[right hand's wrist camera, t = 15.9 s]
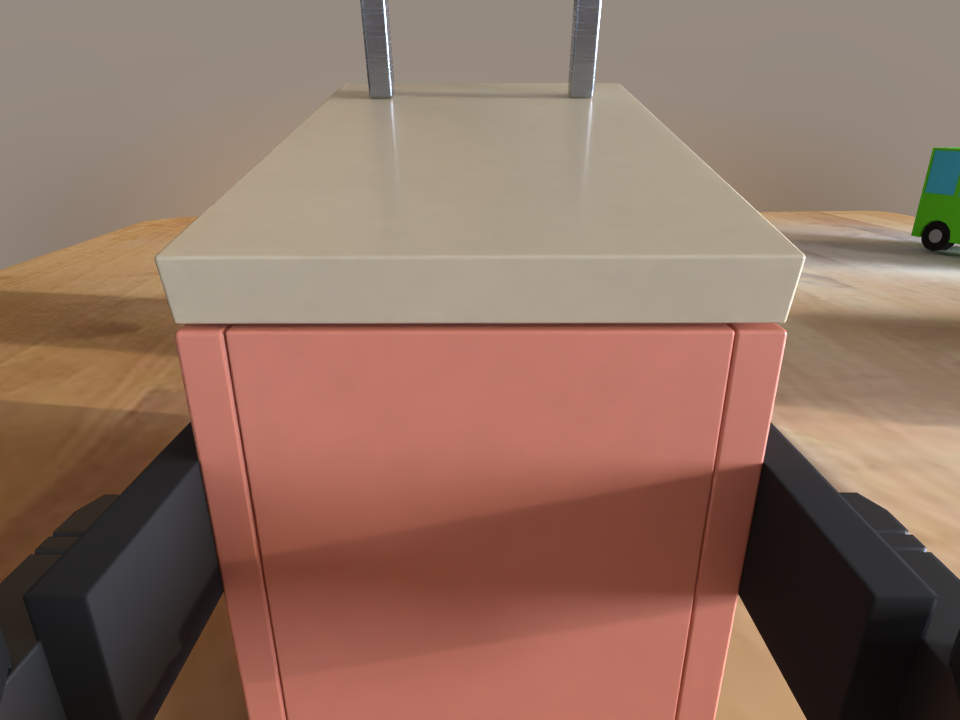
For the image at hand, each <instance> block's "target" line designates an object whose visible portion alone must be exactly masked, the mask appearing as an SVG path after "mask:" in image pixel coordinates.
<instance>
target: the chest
mask: <svg viewBox="0 0 960 720" xmlns="http://www.w3.org/2000/svg"><path fill="white" fill-rule="evenodd" d="M786 337H787V332H786V330H784V329H783V328H781V327H780V326H779V325H777V324H776V323H376V324H186V325H184V326H183V327H181V328H180V329H179V330H177V331H176V332H175V341H176V347H177V352H178V357H179V362H180V367H181V373H182V378H183V383H184V388H185V393H186V398H187V404H188V409H189V414H190V419H191V424H192V429H193V435H194V440H195V445H196V450H197V455H198V461H199V465H200V471H201V476H202V481H203V486H204V492H205V497H206V502H207V507H208V512H209V517H210V523H211V528H212V533H213V538H214V543H215V548H216V554H217V559H218V564H219V569H220V574H221V580H222V585H223V590H224V595H225V600H226V605H227V611H228V616H229V621H230V626H231V631H232V636H233V642H234V647H235V652H236V657H237V662H238V668H239V673H240V678H241V683H242V688H243V693H244V699H245V704H246V709H247V714H248V719H249V720H715V715H716V710H717V705H718V699H719V694H720V689H721V683H722V678H723V673H724V667H725V662H726V657H727V651H728V646H729V641H730V635H731V630H732V625H733V619H734V614H735V609H736V603H737V598H738V593H739V587H740V582H741V577H742V571H743V566H744V561H745V555H746V550H747V545H748V539H749V534H750V529H751V523H752V518H753V513H754V508H755V502H756V497H757V492H758V486H759V481H760V476H761V470H762V465H763V460H764V454H765V449H766V444H767V438H768V433H769V428H770V422H771V417H772V412H773V406H774V401H775V396H776V390H777V385H778V380H779V374H780V369H781V364H782V358H783V353H784V348H785V342H786Z"/></svg>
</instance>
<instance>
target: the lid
mask: <svg viewBox="0 0 960 720" xmlns="http://www.w3.org/2000/svg"><path fill="white" fill-rule="evenodd" d="M360 3H361V14H362V24H363V34H364V45H365V56H366V66H367V76H368V84H344V85H343V86H342V87H341V88H340V89H339V90H337V91H336V92H335V93H334V94H333V95H332V96H331V97H330V98H329V99H327V100H326V101H325V102H324V103H323V104H322V105H321V106H320V107H319V108H318V109H316V110H315V111H314V112H313V113H312V114H311V115H310V116H309V117H308V118H307V119H306V120H305V121H303V122H302V123H301V124H300V125H299V126H298V127H297V128H296V129H295V130H293V131H292V132H291V133H290V134H289V135H288V136H287V137H286V138H285V139H284V140H282V141H281V142H280V143H279V144H278V145H277V146H276V147H275V148H274V149H273V150H271V151H270V152H269V153H268V154H267V155H266V156H265V157H264V158H263V159H262V160H260V161H259V162H258V163H257V164H256V165H255V166H254V167H253V168H252V169H251V170H249V171H248V172H247V173H246V174H245V175H244V176H243V177H242V178H241V179H240V180H238V181H237V182H236V183H235V184H234V185H233V186H232V187H231V188H230V189H229V190H228V191H226V192H225V193H224V194H223V195H222V196H221V197H220V198H219V199H218V200H217V201H215V202H214V203H213V204H212V205H211V206H210V207H209V208H208V209H207V210H206V211H204V212H203V213H202V214H201V215H200V216H199V217H198V218H197V219H196V220H195V221H193V222H192V223H191V224H190V225H189V226H188V227H187V228H186V229H185V230H184V231H182V232H181V233H180V234H179V235H178V236H177V237H176V238H175V239H174V240H173V241H171V242H170V243H169V244H168V245H167V246H166V247H165V248H164V249H163V250H162V251H160V252H159V253H158V254H157V255H156V256H155V262H156V265H157V268H158V272H159V275H160V278H161V281H162V284H163V287H164V290H165V294H166V297H167V300H168V303H169V306H170V309H171V313H172V316H173V319H174V322H175V323H177V324H376V323H784V322H786V320H787V316H788V313H789V310H790V307H791V304H792V300H793V297H794V294H795V291H796V287H797V284H798V281H799V278H800V274H801V271H802V268H803V265H804V261H805V255H804V254H803V253H802V252H801V251H800V250H799V249H798V248H797V247H796V246H795V245H793V244H792V243H791V242H790V241H789V240H788V239H787V238H786V237H785V236H784V235H783V234H782V233H780V232H779V231H778V230H777V229H776V228H775V227H774V226H773V225H772V224H771V223H770V222H769V221H767V220H766V219H765V218H764V217H763V216H762V215H761V214H760V213H759V212H758V211H757V210H756V209H754V208H753V207H752V206H751V205H750V204H749V203H748V202H747V201H746V200H745V199H744V198H743V197H741V196H740V195H739V194H738V193H737V192H736V191H735V190H734V189H733V188H732V187H731V186H730V185H728V184H727V183H726V182H725V181H724V180H723V179H722V178H721V177H720V176H719V175H718V174H717V173H715V172H714V171H713V170H712V169H711V168H710V167H709V166H708V165H707V164H706V163H705V162H704V161H703V160H701V159H700V158H699V157H698V156H697V155H696V154H695V153H694V152H693V151H692V150H691V149H690V148H688V147H687V146H686V145H685V144H684V143H683V142H682V141H681V140H680V139H679V138H678V137H677V136H675V135H674V134H673V133H672V132H671V131H670V130H669V129H668V128H667V127H666V126H665V125H663V124H662V123H661V122H660V121H659V120H658V119H657V118H656V117H655V116H654V115H653V114H652V113H651V112H649V111H648V110H647V109H646V108H645V107H644V106H643V105H642V104H641V103H640V102H639V101H638V100H636V99H635V98H634V97H633V96H632V95H631V94H630V93H629V92H628V91H627V90H626V89H625V88H623V87H622V86H621V85H620V84H619V83H594V82H595V71H596V60H597V48H598V38H599V26H600V15H601V4H602V0H574V10H573V24H572V39H571V54H570V68H569V83H495V84H494V83H492V84H491V83H489V84H394V75H393V62H392V48H391V35H390V21H389V8H388V0H360Z"/></svg>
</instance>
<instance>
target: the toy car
mask: <svg viewBox="0 0 960 720" xmlns="http://www.w3.org/2000/svg"><path fill="white" fill-rule="evenodd" d="M911 236H916V237H922V243H923V245H924V247H925V248H927V249H929V250H931V251H937V250H947V249H948V248H950V247H951V246H953V245H954V243H956V244H960V147H952V148H933V151H932V155H931V159H930V163H929V167H928V171H927V175H926V179H925V183H924V187H923V191H922V195H921V199H920V203H919V207H918V211H917V215H916V218H915V222H914V226H913V230H912V234H911Z"/></svg>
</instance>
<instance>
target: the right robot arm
mask: <svg viewBox="0 0 960 720" xmlns="http://www.w3.org/2000/svg"><path fill="white" fill-rule="evenodd" d="M223 592H224V590H223V585H222V580H221V574H220V569H219V564H218V559H217V554H216V548H215V543H214V538H213V533H212V528H211V523H210V517H209V512H208V507H207V502H206V497H205V492H204V486H203V481H202V476H201V471H200V465H199V461H198V455H197V450H196V445H195V440H194V435H193V429H192V424H191V422H190V423H189V424H188V425H187V426H186V427H185V428H184V429H183V430H182V431H181V432H180V433H179V434H178V435H177V436H176V437H175V438H174V440H173V441H172V442H171V443H170V444H169V445H168V446H167V447H166V448H165V449H164V450H163V451H162V452H161V453H160V454H159V455H158V456H157V457H156V458H155V459H154V460H153V461H152V462H151V463H150V464H149V465H148V466H147V467H146V469H145V470H144V471H143V472H142V473H141V474H140V475H139V476H138V477H137V478H136V479H135V480H134V481H133V482H132V483H131V484H130V485H129V486H128V487H127V488H126V489H125V490H124V491H123V492H122V493H121V494H120V495H103V496H101V497H100V498H98V499H96V500H95V501H93V502H91V503H89V504H88V505H86V506H84V507H83V508H81V509H79V510H77V511H76V512H74V513H73V514H72V515H71V516H70V517H69V518H68V519H67V520H66V521H65V522H64V523H63V524H62V525H61V526H60V527H59V528H58V529H57V530H56V531H54V532H53V537H48V538H47V539H46V540H45V541H44V542H43V543H42V544H41V545H40V546H39V547H38V548H37V549H36V550H35V554H31V555H30V556H28V557H27V558H26V559H25V560H24V561H23V562H22V563H21V564H20V565H19V566H18V567H17V568H16V569H15V570H14V571H13V572H12V573H11V574H10V575H9V576H8V577H7V578H6V579H5V580H4V581H3V582H1V583H0V720H154V718H155V716H156V715H157V713H158V711H159V709H160V707H161V705H162V704H163V702H164V700H165V698H166V696H167V694H168V693H169V691H170V689H171V687H172V685H173V683H174V682H175V680H176V678H177V676H178V674H179V672H180V671H181V669H182V667H183V665H184V663H185V661H186V660H187V658H188V656H189V654H190V652H191V650H192V649H193V647H194V645H195V643H196V641H197V639H198V638H199V636H200V634H201V632H202V630H203V628H204V627H205V625H206V623H207V621H208V619H209V617H210V616H211V614H212V612H213V610H214V608H215V606H216V605H217V603H218V601H219V599H220V597H221V595H222V594H223ZM738 594H739V596H740V598H741V600H742V601H743V603H744V605H745V607H746V609H747V611H748V612H749V614H750V616H751V618H752V620H753V622H754V623H755V625H756V627H757V629H758V631H759V633H760V634H761V636H762V638H763V640H764V642H765V644H766V645H767V647H768V649H769V651H770V653H771V655H772V656H773V658H774V660H775V662H776V664H777V666H778V667H779V669H780V671H781V673H782V675H783V677H784V678H785V680H786V682H787V684H788V686H789V688H790V689H791V691H792V693H793V695H794V697H795V699H796V700H797V702H798V704H799V706H800V708H801V710H802V711H803V713H804V715H805V717H806V719H807V720H960V579H958V578H957V577H956V576H955V575H954V574H953V573H952V572H951V571H950V570H949V569H948V568H947V567H946V566H945V565H944V564H943V563H942V562H941V561H940V560H939V559H938V558H936V557H935V556H934V555H933V554H932V553H931V552H927V550H926V547H925V546H924V545H923V544H922V543H921V542H920V541H919V540H918V539H917V538H916V537H915V536H913V535H909V533H908V530H907V529H906V528H905V527H904V526H903V525H902V524H901V523H900V522H899V521H898V520H897V519H896V518H895V517H894V516H893V515H892V514H890V513H889V512H888V511H887V510H886V509H884V508H882V507H881V506H879V505H877V504H875V503H874V502H872V501H870V500H869V499H867V498H865V497H863V496H862V495H860V494H858V493H838V491H837V490H836V489H835V488H834V487H833V486H832V485H831V484H830V483H829V482H828V481H827V480H826V479H825V478H824V477H823V476H822V475H821V474H820V473H819V472H818V471H817V470H816V469H815V468H814V467H813V466H812V465H811V464H810V462H809V461H808V460H807V459H806V458H805V457H804V456H803V455H802V454H801V453H800V452H799V451H798V450H797V449H796V448H795V447H794V446H793V445H792V444H791V443H790V442H789V441H788V440H787V439H786V438H785V437H784V436H783V434H782V433H781V432H780V431H779V430H778V429H777V428H776V427H775V426H774V425H773V424H772V423H771V422H770V428H769V433H768V438H767V444H766V449H765V454H764V460H763V465H762V470H761V476H760V481H759V486H758V492H757V497H756V502H755V508H754V513H753V518H752V523H751V529H750V534H749V539H748V545H747V550H746V555H745V561H744V566H743V571H742V577H741V582H740V587H739V593H738Z"/></svg>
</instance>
